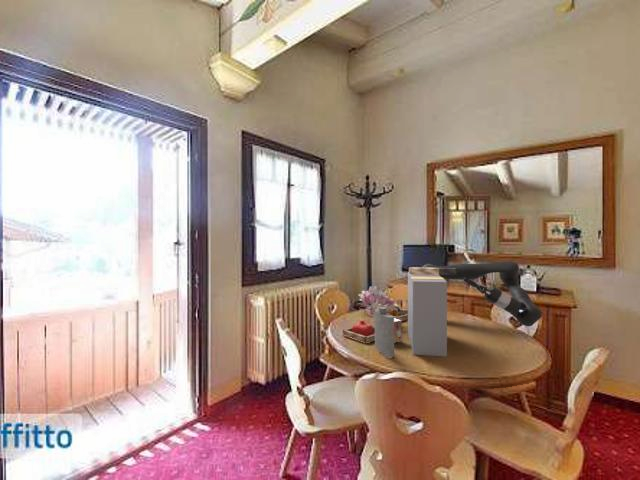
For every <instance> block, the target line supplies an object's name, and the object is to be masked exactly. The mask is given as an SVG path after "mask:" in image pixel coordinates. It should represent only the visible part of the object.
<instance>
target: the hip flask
mask: <svg viewBox="0 0 640 480" xmlns="http://www.w3.org/2000/svg"><path fill="white" fill-rule="evenodd" d="M386 310H387V308H386V307H379V308H378V309H375V320H374V324H375V342H374V348H375V347H376V348H377V349H378V350H379V351H380V352H381V353H382V354H384V355H385V356H387V357H391V358H390V359H393V358H392V357H394V358H395V343H394V316H392V315H389V314H387V313H386ZM376 348H375V349H376ZM377 349H376V350H377ZM378 350H377V351H378ZM379 351H378V352H379ZM380 352H379V353H380ZM381 353H380V354H381ZM382 354H381V355H382ZM384 355H383V356H384ZM385 356H384V357H385ZM387 357H386V358H387Z"/></svg>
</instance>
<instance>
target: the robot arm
mask: <svg viewBox="0 0 640 480" xmlns="http://www.w3.org/2000/svg"><path fill="white" fill-rule="evenodd" d="M421 268H456V275H440V276H441V277H442V278H444V280H458V281H459V280H461V281H463V282H465V283H466V284H468V285H469V286H471V287H473V289H474V290H476V291H477V292H479V293H481V294H482V295H483V298H484V300H485V301H487V302H488V303H491V304H493V305H494V306H496V307H497V308H500V309H501V310H504V311H505V312H507V313H509V314H510V315H512V317H514V318H515V319H516V320H517V321H518V322H519V323H520V324H521V325H522V326H525V327H532V326H533V325H534V324H535V323H537V322H538V321H539V320H541V318H542V317H543V311H542V309H541V308H539V307H538V306H537V305H536V304H535V302H533V301H532V299H531V298H530V295H529V294H528V292H527V291H526V290H525V289H524V288H523V287H521V286H520V282H519V274H520V266H519V264H518V263H517V262H515V261H508V260H507V261H497V262H495V261H494V262H487V263H486V262H483V263H458V264H452V265H451V264H450V265H444V266H443V265H434V264H432V263H426V264H424V265H422V266H421ZM493 273H499V274H498V275H499V279H500V281H501V282H502V284H504V286H505V287H506V289H507V291H509V293H510V295H511V296H510V295H509V294H508V293H506V292H505V291H503V290H501V289H499V288H498V287H496V286H495V285H491V286H490V287H488V286H487V285H484V284H481V283H480V282H478V281H477V282H476V281H474V280H477V279H480V278H482V277H483V276H486V275H488V274H493Z"/></svg>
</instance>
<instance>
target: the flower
mask: <svg viewBox="0 0 640 480" xmlns="http://www.w3.org/2000/svg"><path fill="white" fill-rule="evenodd" d="M357 296H359V298H360V299H359V301H361V302H363V305H364V306H365V307H366V309H367V310H370V311H369V312H368V315H369V316H368V317H371V316H370V315H371V312H373V314H372V318H373V320H374V321H375V309H377V308H379V307H386V308H387V310H386V311H388V310H389V309H391V310H393V309H394V310H397V309H396V308H395V306H394V305H393V304H394V303H395V304H396V301H395V299H394V298H390V296H387V292H386V291H382V289H377V286H375V285H373V286H372V285H371V286H369V288H368V290H366V291H365V290H361V293H359V294H358V295H357ZM379 304H381V305H379ZM384 305H385V306H384ZM374 307H375V308H374ZM397 312H398V310H397ZM387 314H388V313H387ZM370 325H372V327H375V323H371V324H370Z"/></svg>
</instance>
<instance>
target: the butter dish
mask: <svg viewBox="0 0 640 480" xmlns="http://www.w3.org/2000/svg"><path fill="white" fill-rule="evenodd" d="M352 327H353V328H352V332H354V333H357V334H360V335H363V336H366V337H367V336H370V335H373V334H375V333H374V331H373V326H372V325H371V324H370V323H367V322H366V320H364V319H361V320H359V322H358V323H355V324H354V325H352Z"/></svg>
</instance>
